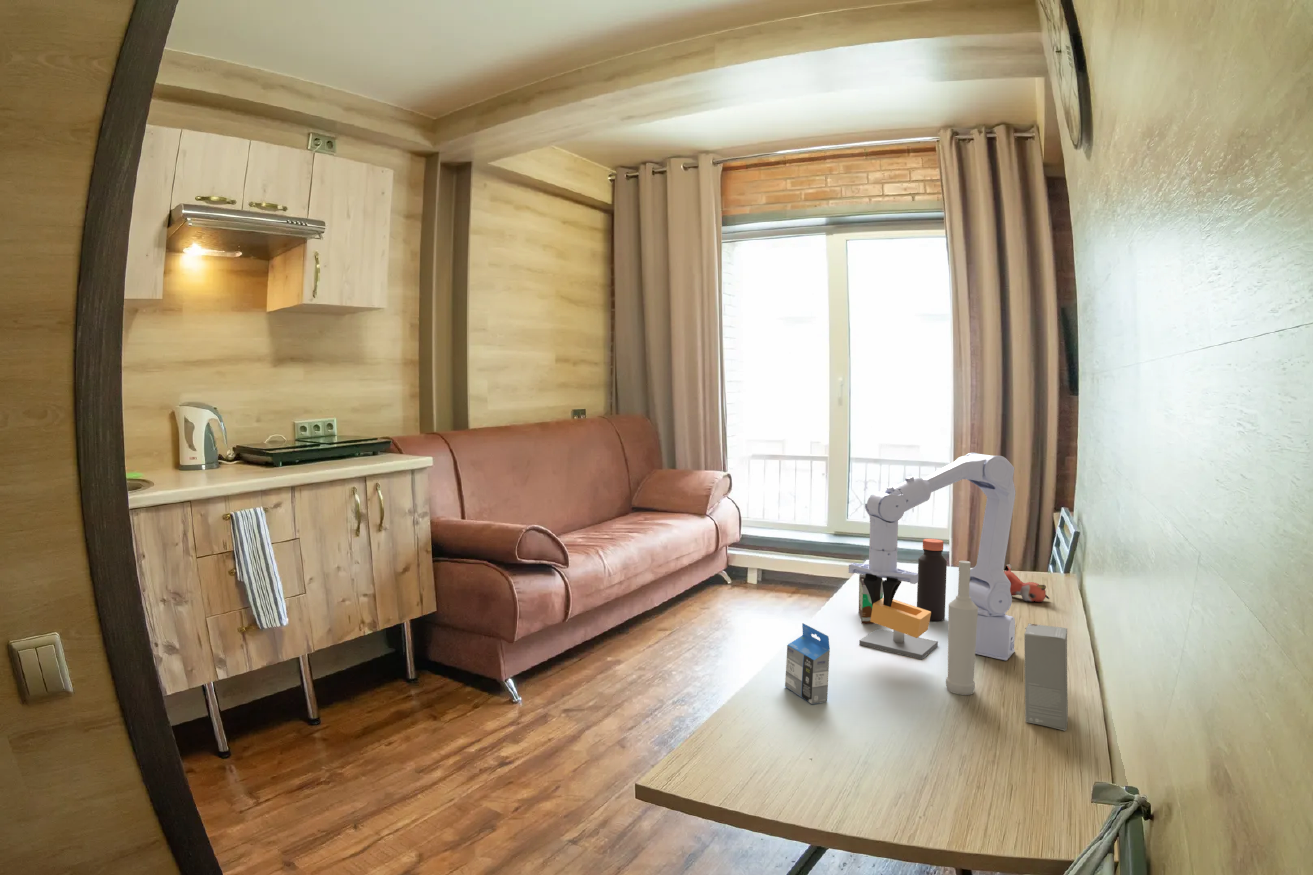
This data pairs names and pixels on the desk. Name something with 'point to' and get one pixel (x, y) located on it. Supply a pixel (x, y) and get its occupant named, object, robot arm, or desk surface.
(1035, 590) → the stuffed fox
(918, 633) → the link
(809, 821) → the desk surface
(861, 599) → the food container
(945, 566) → the vinegar
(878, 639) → the plate
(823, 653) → the label tape box
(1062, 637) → the skincare box
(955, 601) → the bottle
